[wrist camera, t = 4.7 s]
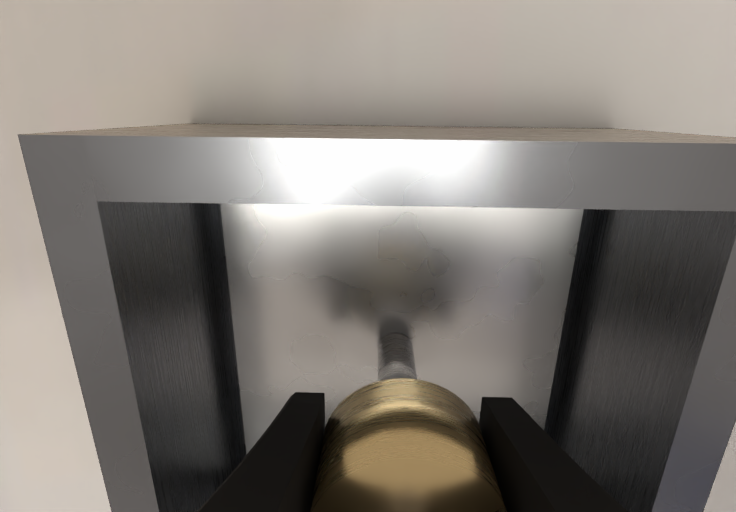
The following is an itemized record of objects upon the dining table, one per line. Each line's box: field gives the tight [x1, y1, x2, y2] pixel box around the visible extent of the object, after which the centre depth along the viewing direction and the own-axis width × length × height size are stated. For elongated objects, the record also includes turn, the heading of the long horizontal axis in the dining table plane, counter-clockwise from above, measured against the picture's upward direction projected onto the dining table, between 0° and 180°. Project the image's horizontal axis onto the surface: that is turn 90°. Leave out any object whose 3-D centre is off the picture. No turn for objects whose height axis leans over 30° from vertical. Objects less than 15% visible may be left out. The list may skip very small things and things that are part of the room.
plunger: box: [220, 203, 584, 512], centre depth 10 cm, size 9×9×6 cm
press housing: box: [18, 124, 736, 512], centre depth 11 cm, size 12×12×6 cm
